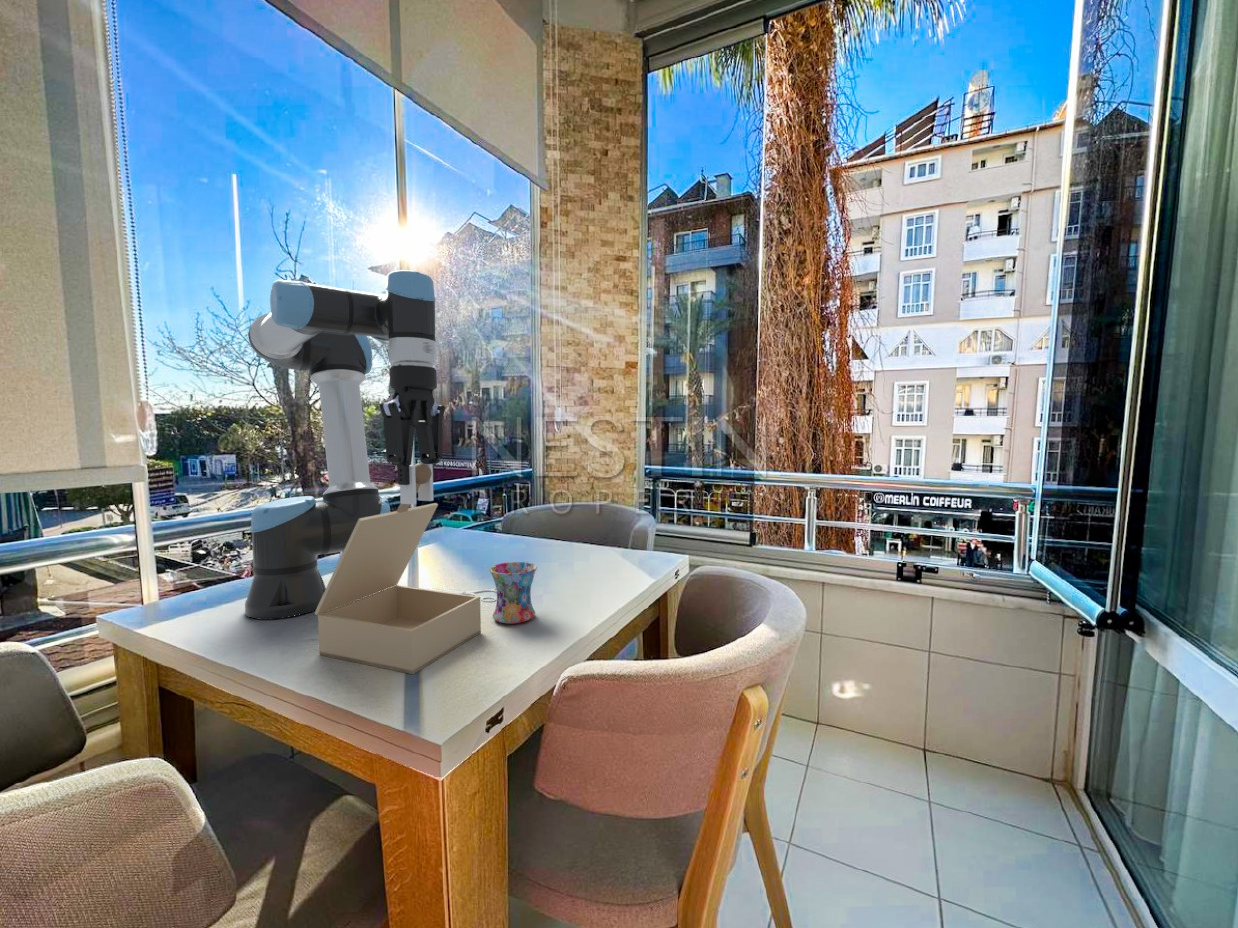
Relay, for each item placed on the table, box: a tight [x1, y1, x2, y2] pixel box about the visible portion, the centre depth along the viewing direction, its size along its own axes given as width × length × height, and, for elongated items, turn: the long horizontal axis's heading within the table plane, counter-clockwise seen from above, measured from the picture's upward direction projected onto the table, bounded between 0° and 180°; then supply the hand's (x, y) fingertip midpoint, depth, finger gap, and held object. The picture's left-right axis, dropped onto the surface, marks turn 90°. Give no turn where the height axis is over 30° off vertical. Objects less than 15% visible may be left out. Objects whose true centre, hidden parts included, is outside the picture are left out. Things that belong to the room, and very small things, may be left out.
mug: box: [489, 561, 538, 624], centre depth 109 cm, size 12×9×11 cm
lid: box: [314, 462, 439, 616], centre depth 95 cm, size 30×18×4 cm
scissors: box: [431, 587, 497, 603], centre depth 124 cm, size 11×1×20 cm
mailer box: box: [317, 584, 482, 675], centre depth 95 cm, size 20×18×7 cm
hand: (417, 501), depth 92 cm, fingers closed on lid, 4 cm apart
